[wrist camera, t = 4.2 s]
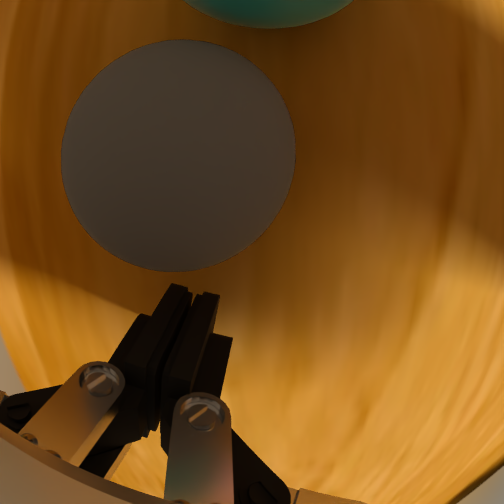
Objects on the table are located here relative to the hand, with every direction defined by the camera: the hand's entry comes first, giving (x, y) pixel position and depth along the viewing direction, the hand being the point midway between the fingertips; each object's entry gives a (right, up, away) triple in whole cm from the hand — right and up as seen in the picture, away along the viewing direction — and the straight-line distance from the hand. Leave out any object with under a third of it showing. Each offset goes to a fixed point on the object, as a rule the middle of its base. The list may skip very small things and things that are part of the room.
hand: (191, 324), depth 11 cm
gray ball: (0, +5, -4) cm, 6 cm away
